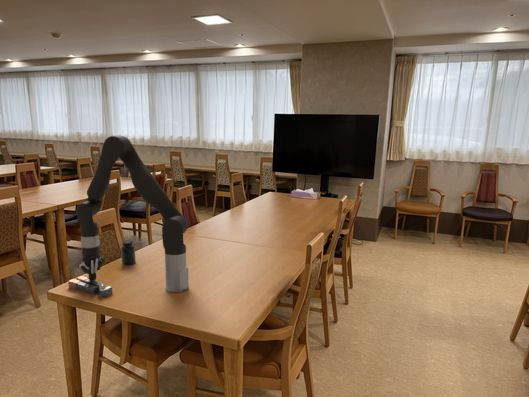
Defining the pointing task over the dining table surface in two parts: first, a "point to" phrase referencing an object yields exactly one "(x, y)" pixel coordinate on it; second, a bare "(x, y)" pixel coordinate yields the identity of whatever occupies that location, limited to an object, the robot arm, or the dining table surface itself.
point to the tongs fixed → (90, 288)
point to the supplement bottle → (128, 253)
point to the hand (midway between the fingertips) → (92, 280)
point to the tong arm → (89, 281)
